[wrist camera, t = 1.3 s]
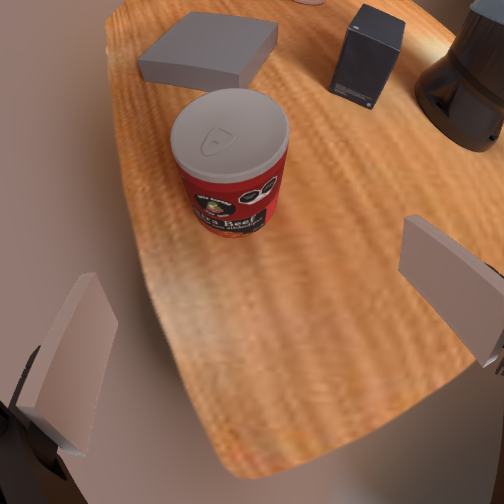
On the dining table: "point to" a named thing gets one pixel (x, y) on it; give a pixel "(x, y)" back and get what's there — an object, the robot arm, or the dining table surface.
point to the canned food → (231, 158)
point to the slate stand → (210, 52)
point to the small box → (367, 56)
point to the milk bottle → (310, 2)
